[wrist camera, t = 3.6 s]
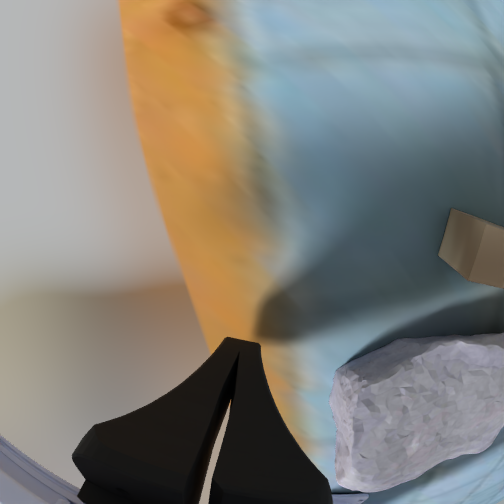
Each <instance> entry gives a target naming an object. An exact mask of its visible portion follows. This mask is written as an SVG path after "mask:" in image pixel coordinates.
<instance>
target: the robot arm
mask: <svg viewBox="0 0 504 504" xmlns="http://www.w3.org/2000/svg"><path fill="white" fill-rule="evenodd" d="M230 400H231V405H230V413H229V420H228V423H227V427H226V431H225V435H224V438H223V442H222V445H221V449H220V452H219V456H218V460H217V463H216V467H215V470H214V473H213V477H212V482H211V489H210V496H209V504H361V503H363V502H364V501H365V500H366V499H368V498H369V494H367V493H362V494H333V495H332V494H331V489H330V485H329V482H328V479H327V478H326V477H325V476H324V475H323V474H322V473H321V472H320V471H319V470H318V469H317V468H316V466H315V465H314V464H313V463H312V462H311V461H310V459H309V458H308V457H307V456H306V454H305V453H304V452H303V451H302V449H301V448H300V446H299V445H298V443H297V442H296V440H295V439H294V437H293V436H292V434H291V433H290V431H289V430H288V428H287V426H286V424H285V423H284V421H283V419H282V417H281V415H280V413H279V411H278V409H277V407H276V404H275V402H274V399H273V397H272V394H271V392H270V389H269V386H268V383H267V379H266V376H265V372H264V368H263V363H262V358H261V346H260V344H259V343H255V342H250V341H245V340H240V339H235V338H231V337H226V338H224V340H223V341H222V343H221V344H220V345H219V347H218V348H217V349H216V350H215V352H214V353H213V354H212V355H211V356H210V357H209V358H208V359H207V360H206V361H205V362H204V363H203V364H202V365H201V367H199V368H198V369H197V370H196V371H195V372H194V373H193V374H192V375H191V376H189V377H188V378H187V379H186V380H185V381H183V382H182V383H181V384H180V385H178V386H177V387H175V388H174V389H172V390H171V391H170V392H168V393H167V394H165V395H163V396H162V397H160V398H158V399H157V400H155V401H153V402H152V403H150V404H148V405H146V406H144V407H142V408H139V409H137V410H135V411H133V412H131V413H128V414H126V415H124V416H121V417H118V418H115V419H112V420H109V421H106V422H102V423H99V424H95V425H94V426H93V427H92V428H91V429H90V430H89V431H88V432H87V434H86V435H85V436H84V437H83V438H82V440H81V442H80V443H79V445H78V446H77V448H76V449H75V451H74V453H73V454H72V459H73V462H74V463H75V465H76V467H77V468H78V469H79V471H80V472H81V473H82V475H83V476H84V478H85V479H86V480H85V482H84V484H83V486H82V488H81V489H79V488H77V487H75V486H74V485H72V484H70V483H68V482H67V481H65V480H63V479H61V478H60V477H58V476H57V475H55V474H53V473H52V472H50V471H49V470H47V469H46V468H44V467H42V466H41V465H39V464H38V463H37V462H35V461H34V460H32V459H31V458H30V457H28V456H27V455H25V454H24V453H23V452H21V451H20V450H18V449H17V448H16V447H15V446H14V445H12V444H11V443H9V442H8V441H7V440H6V439H5V438H4V437H2V436H1V435H0V504H199V501H200V497H201V493H202V489H203V485H204V481H205V477H206V474H207V470H208V466H209V462H210V458H211V454H212V450H213V447H214V444H215V441H216V438H217V436H218V433H219V430H220V427H221V425H222V422H223V419H224V417H225V414H226V411H227V409H228V406H229V403H230Z"/></svg>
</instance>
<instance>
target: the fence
mask: <svg viewBox="0 0 504 504" xmlns="http://www.w3.org/2000/svg"><path fill="white" fill-rule="evenodd" d="M438 256H439V257H440V258H442V259H443V260H444V261H445V262H446V263H448V264H449V265H450V266H451V267H452V268H454V269H455V270H456V271H457V272H458V273H460V274H461V275H462V276H463V277H464V278H465V279H466V280H468V281H472V282H476V283H481V284H485V285H490V286H494V287H499V288H503V289H504V227H501V226H499V225H496V224H494V223H491V222H489V221H486V220H483V219H481V218H478V217H475V216H473V215H470V214H467V213H464V212H461V211H459V210H456V209H453V208H451V211H450V215H449V219H448V223H447V226H446V230H445V233H444V237H443V240H442V243H441V247H440V250H439V253H438Z"/></svg>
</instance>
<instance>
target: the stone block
mask: <svg viewBox="0 0 504 504" xmlns="http://www.w3.org/2000/svg"><path fill="white" fill-rule="evenodd" d="M329 404H330V406H331V409H332V411H333V419H334V421H335V423H336V428H337V431H336V450H335V452H336V458H335V470H336V480H337V482H338V484H339V485H340V486H342V487H345V488H347V489H350V490H352V491H354V490H358V491H361V492H379V491H382V490H386V489H389V488H392V487H394V486H396V485H399V484H401V483H404V482H407V481H410V480H413V479H416V478H418V477H419V476H420V475H422V474H423V473H425V472H426V471H427V470H429V469H430V468H432V467H434V466H435V465H437V464H439V463H440V462H442V461H444V460H447V459H454V458H456V457H458V456H460V455H463V454H476V453H480V452H482V451H484V450H486V449H487V448H488V447H489V446H490V445H491V444H492V443H493V442H494V440H495V438H496V437H497V435H498V433H499V431H500V430H501V429H502V427H503V426H504V332H503V333H500V334H496V333H492V334H481V335H477V334H475V335H473V336H461V335H457V334H455V335H449V336H431V337H425V338H401V339H396V340H394V341H393V342H391V343H390V344H388V345H386V346H384V347H382V348H379V349H377V350H374V351H372V352H370V353H368V354H366V355H364V356H362V357H360V358H357V359H354V360H352V361H350V362H349V363H347V364H345V365H343V366H342V367H340V368H339V369H338V370H336V372H335V375H334V378H333V387H332V390H331V393H330V399H329Z"/></svg>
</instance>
